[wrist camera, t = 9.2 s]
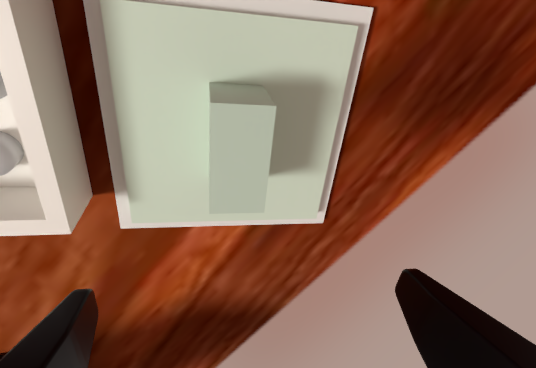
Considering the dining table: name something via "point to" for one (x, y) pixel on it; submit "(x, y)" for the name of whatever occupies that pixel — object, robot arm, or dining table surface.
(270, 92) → the lid
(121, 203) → the mat
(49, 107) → the tub
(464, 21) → the dining table surface
